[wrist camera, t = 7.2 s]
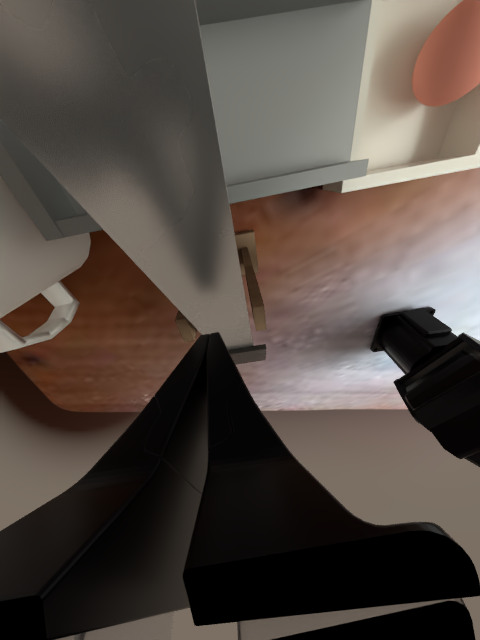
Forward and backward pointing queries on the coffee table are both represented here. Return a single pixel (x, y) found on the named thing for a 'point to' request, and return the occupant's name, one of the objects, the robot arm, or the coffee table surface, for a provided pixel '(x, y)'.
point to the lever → (132, 141)
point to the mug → (34, 271)
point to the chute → (248, 105)
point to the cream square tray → (407, 104)
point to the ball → (450, 57)
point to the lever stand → (248, 268)
